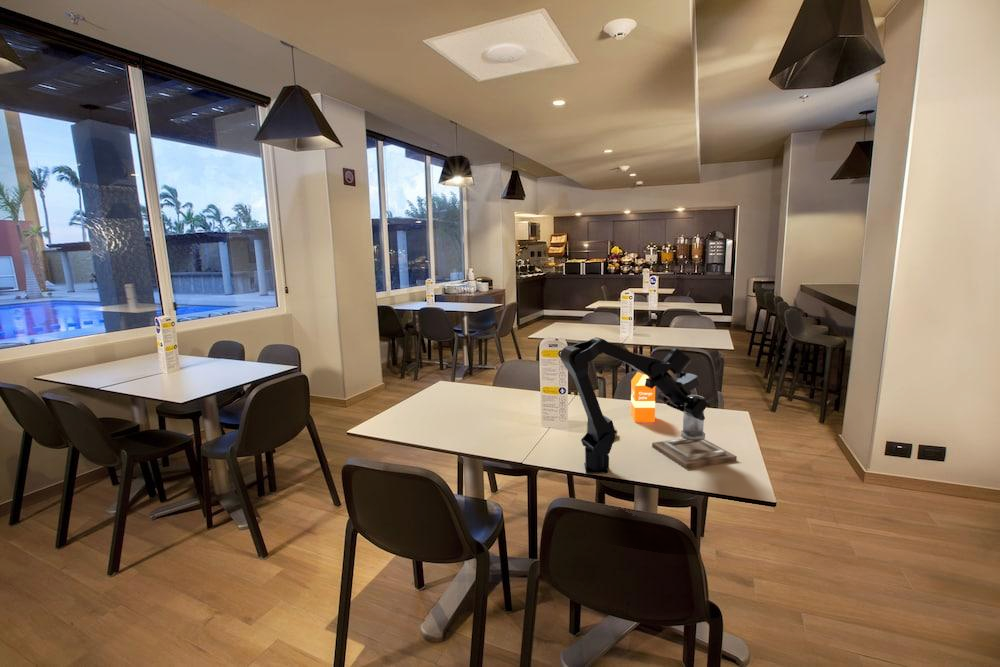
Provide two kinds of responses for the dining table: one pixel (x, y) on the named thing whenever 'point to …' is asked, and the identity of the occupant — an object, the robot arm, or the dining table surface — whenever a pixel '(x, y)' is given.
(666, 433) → the dining table surface
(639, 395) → the orange juice
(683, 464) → the bronze base
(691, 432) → the silver metal cup
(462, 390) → the dining table surface
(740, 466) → the dining table surface
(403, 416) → the dining table surface
